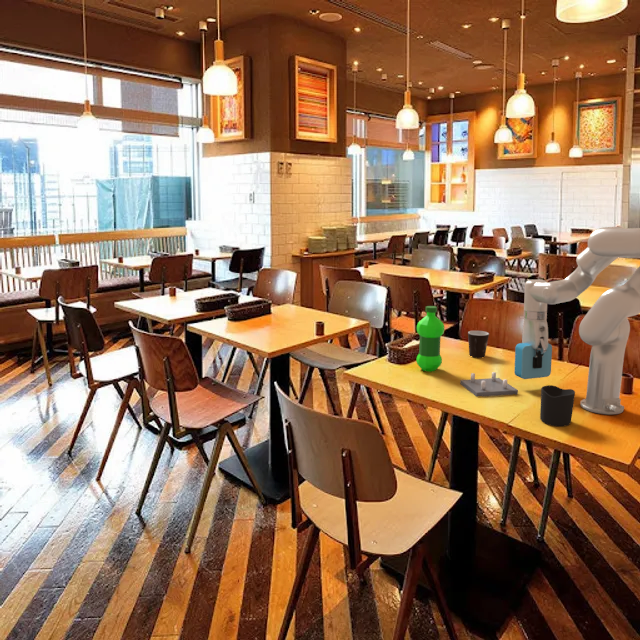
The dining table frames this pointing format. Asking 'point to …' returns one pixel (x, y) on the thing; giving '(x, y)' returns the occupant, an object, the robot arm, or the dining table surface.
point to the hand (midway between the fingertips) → (532, 365)
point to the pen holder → (556, 405)
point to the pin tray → (488, 386)
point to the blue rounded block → (531, 362)
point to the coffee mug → (477, 343)
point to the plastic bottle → (429, 340)
